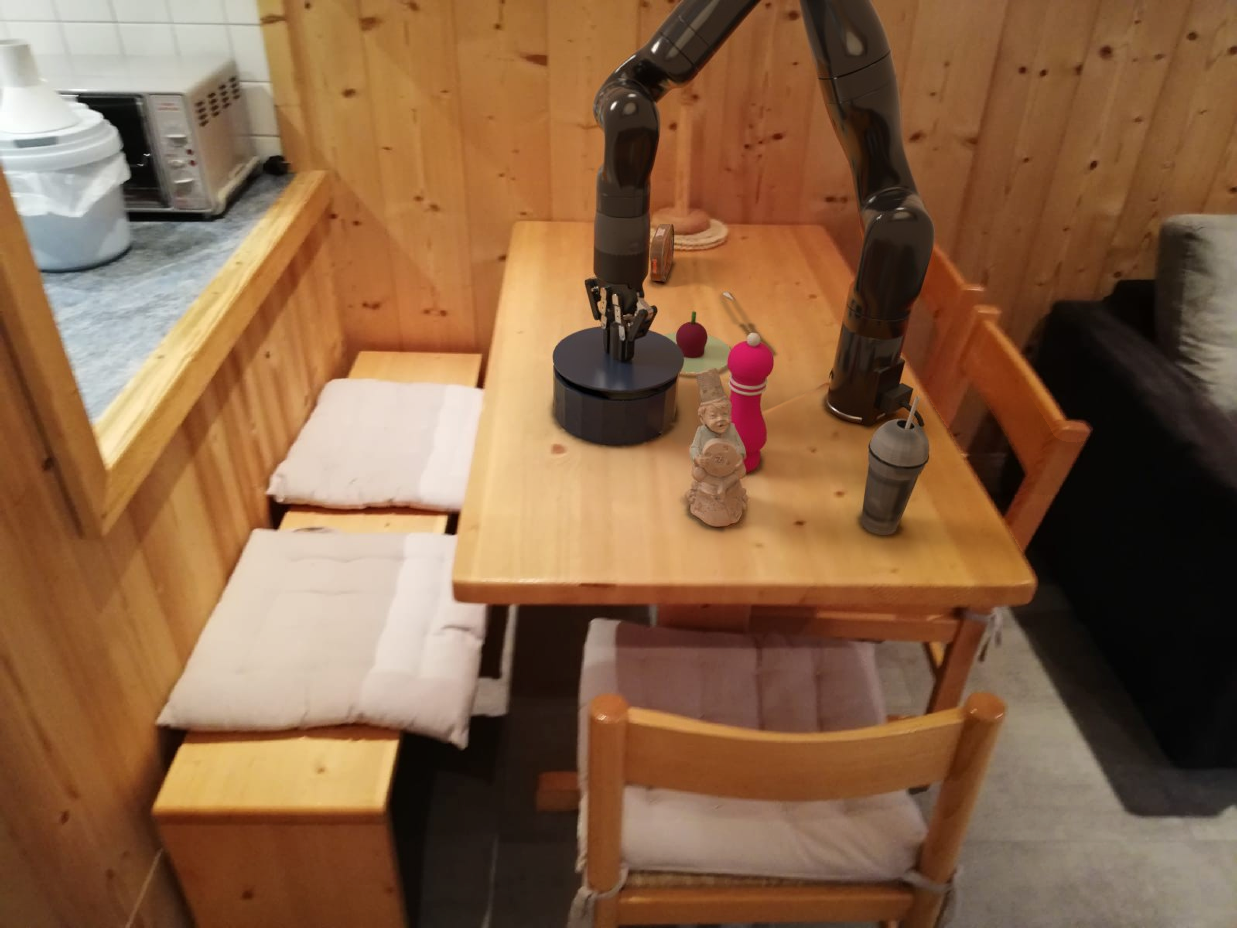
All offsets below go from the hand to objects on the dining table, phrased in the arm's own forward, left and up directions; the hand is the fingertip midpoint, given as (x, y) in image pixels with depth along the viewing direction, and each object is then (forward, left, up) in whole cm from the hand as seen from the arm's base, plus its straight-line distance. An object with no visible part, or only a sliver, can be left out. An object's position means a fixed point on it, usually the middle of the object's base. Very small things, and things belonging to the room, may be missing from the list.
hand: (618, 355), depth 131 cm
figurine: (-26, +4, -10) cm, 28 cm away
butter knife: (+9, -37, -10) cm, 39 cm away
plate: (+6, -21, -10) cm, 24 cm away
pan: (0, 0, -10) cm, 10 cm away
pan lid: (0, 0, -1) cm, 1 cm away
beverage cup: (-41, -11, -10) cm, 43 cm away
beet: (+6, -21, -9) cm, 24 cm away
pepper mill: (-20, -6, -10) cm, 23 cm away
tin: (+34, -39, -10) cm, 53 cm away
